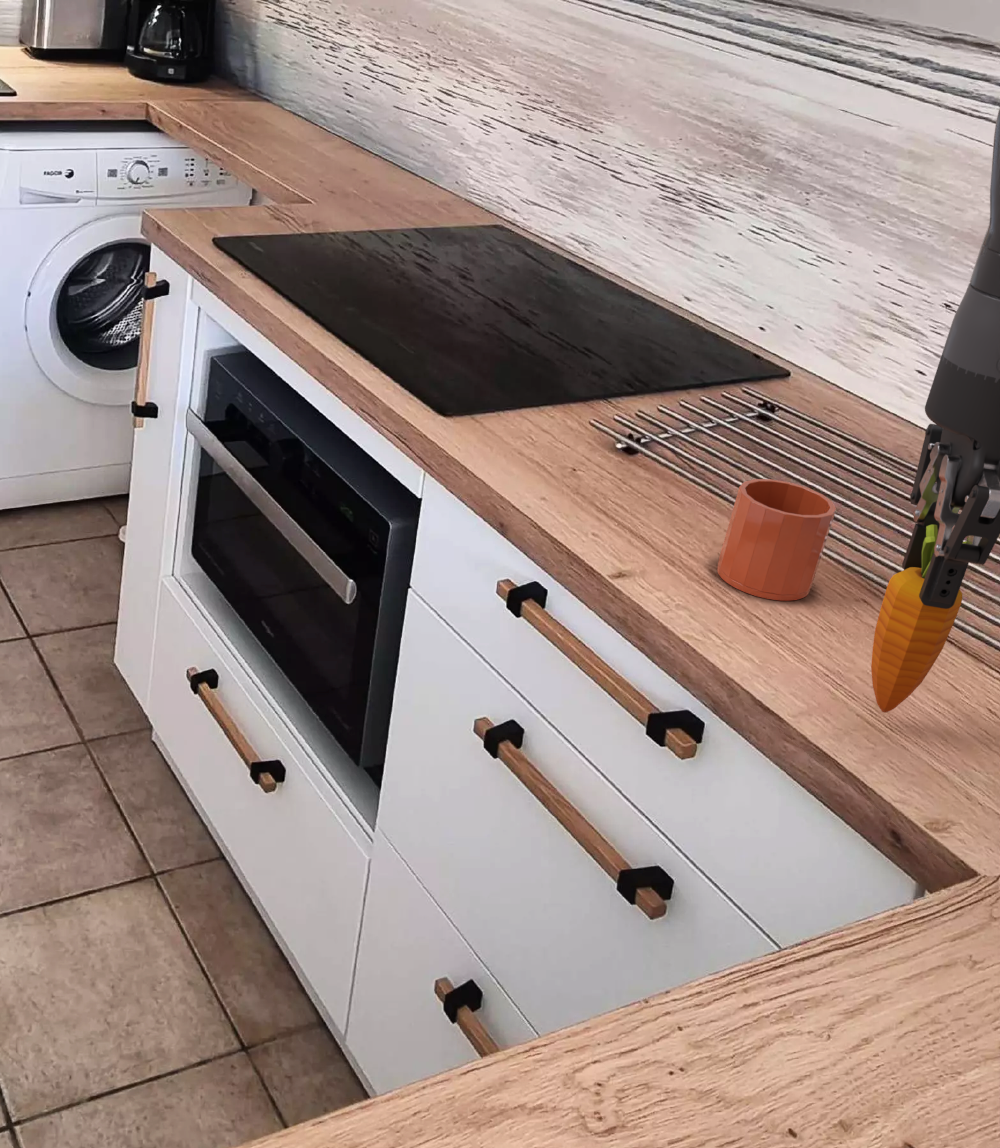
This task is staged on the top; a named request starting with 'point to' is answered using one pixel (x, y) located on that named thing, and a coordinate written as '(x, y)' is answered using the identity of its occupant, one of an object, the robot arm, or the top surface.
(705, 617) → the top surface
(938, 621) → the carrot
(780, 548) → the pot
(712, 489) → the top surface
